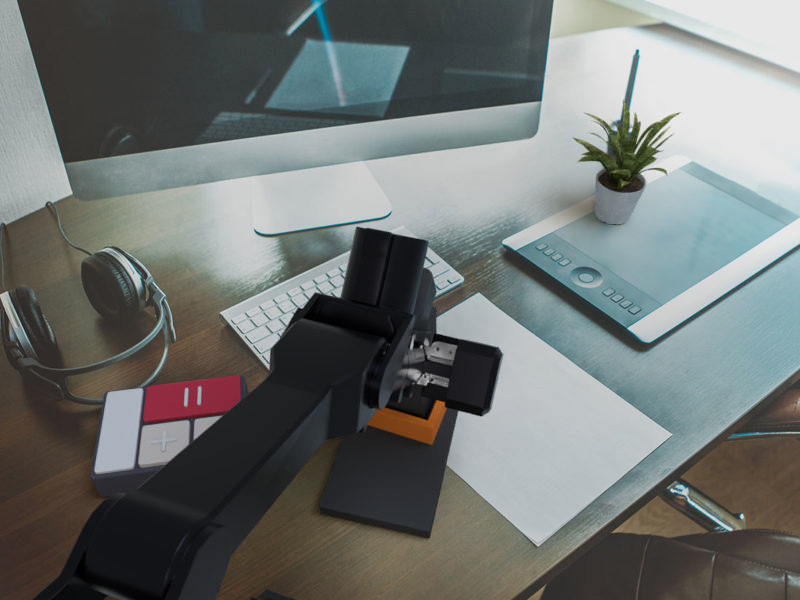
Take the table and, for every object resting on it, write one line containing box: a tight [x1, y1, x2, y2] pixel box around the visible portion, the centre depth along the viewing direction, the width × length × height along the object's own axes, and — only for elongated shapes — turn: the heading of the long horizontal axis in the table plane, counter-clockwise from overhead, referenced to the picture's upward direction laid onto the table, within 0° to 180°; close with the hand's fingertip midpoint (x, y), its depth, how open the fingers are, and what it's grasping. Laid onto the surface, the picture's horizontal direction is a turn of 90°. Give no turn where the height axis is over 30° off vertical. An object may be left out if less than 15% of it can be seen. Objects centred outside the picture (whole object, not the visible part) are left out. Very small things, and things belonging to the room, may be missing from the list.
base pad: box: [318, 400, 459, 539], centre depth 68 cm, size 19×11×4 cm, turn 166°
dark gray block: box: [387, 306, 438, 420], centre depth 67 cm, size 5×4×13 cm
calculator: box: [89, 374, 249, 498], centre depth 69 cm, size 11×4×15 cm
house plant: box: [572, 99, 682, 226], centre depth 93 cm, size 14×14×16 cm
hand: (415, 354), depth 68 cm, fingers closed on dark gray block, 4 cm apart
